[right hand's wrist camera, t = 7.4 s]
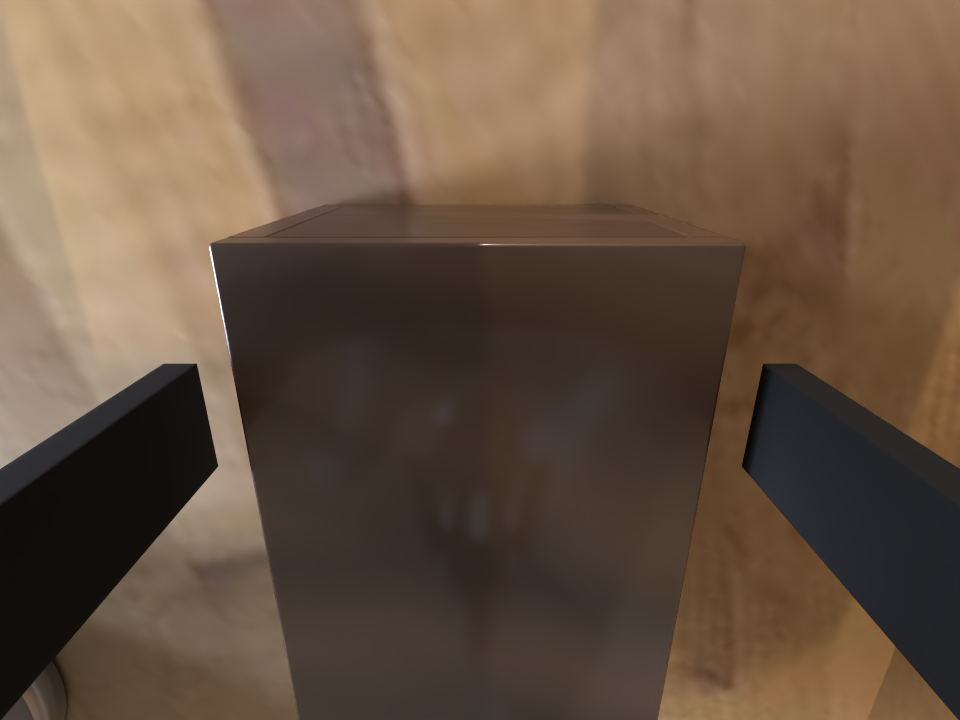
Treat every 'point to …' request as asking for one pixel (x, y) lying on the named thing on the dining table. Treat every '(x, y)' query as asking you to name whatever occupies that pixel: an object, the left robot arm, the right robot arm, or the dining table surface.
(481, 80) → the dining table surface
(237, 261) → the cabinet
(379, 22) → the dining table surface
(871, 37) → the dining table surface
